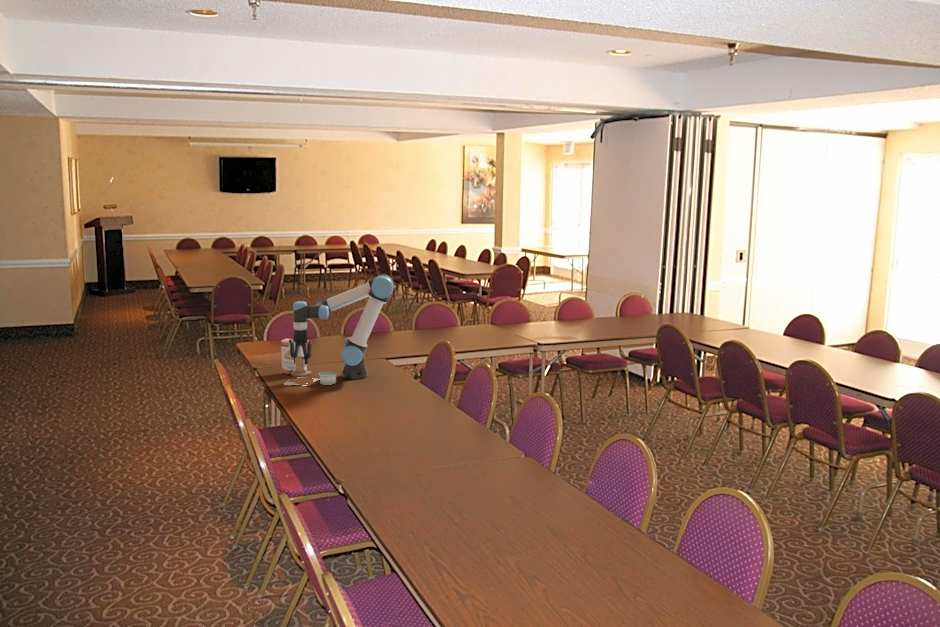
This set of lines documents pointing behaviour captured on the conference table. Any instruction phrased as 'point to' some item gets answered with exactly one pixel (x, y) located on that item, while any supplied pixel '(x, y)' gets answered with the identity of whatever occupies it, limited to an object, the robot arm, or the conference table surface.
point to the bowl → (327, 377)
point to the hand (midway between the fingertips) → (301, 369)
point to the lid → (300, 368)
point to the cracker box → (288, 356)
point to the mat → (298, 384)
